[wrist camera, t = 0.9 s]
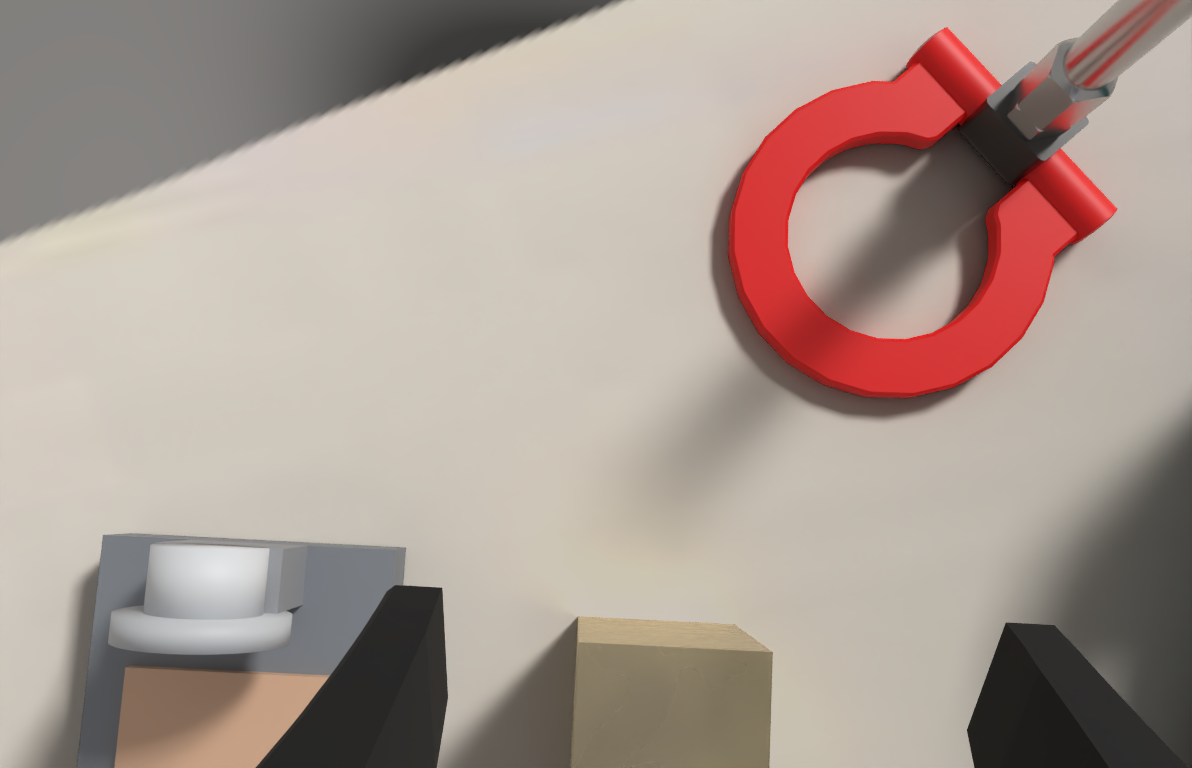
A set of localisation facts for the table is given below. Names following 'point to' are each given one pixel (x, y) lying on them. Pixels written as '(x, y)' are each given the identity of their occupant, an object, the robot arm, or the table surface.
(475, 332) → the table surface
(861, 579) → the table surface
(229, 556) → the stand
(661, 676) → the coupling block
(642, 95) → the table surface
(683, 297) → the table surface
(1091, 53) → the tow hook
